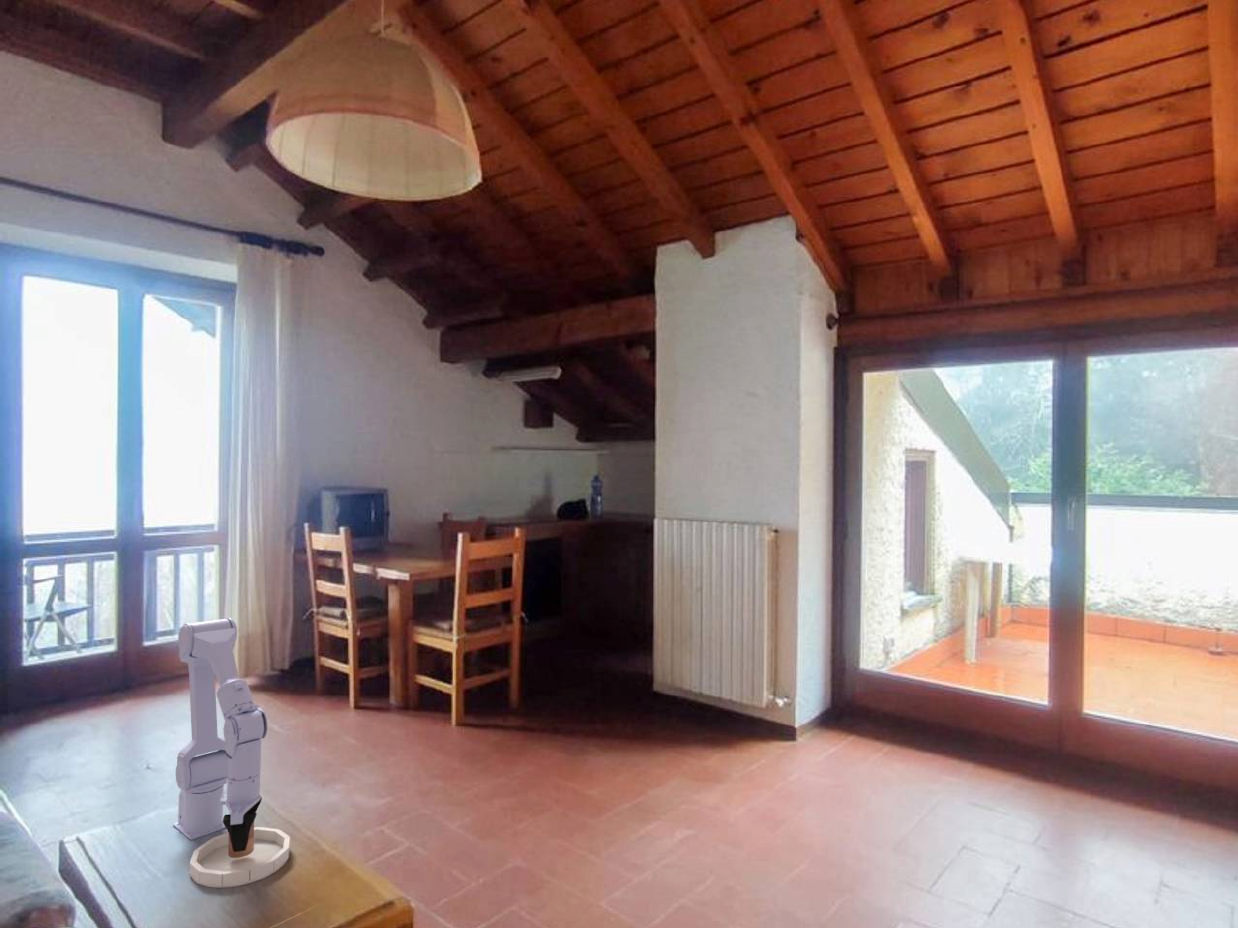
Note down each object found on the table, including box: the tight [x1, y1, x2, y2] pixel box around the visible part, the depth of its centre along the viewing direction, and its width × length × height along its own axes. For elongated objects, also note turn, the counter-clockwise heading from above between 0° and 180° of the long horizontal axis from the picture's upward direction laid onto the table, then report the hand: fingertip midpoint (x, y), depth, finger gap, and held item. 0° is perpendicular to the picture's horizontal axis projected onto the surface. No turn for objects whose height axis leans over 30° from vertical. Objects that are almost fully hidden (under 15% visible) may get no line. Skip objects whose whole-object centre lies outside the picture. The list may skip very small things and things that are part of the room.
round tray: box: [188, 826, 291, 889], centre depth 141 cm, size 17×17×3 cm
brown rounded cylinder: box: [228, 821, 255, 858], centre depth 141 cm, size 4×4×6 cm
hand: (241, 843), depth 141 cm, fingers closed on brown rounded cylinder, 4 cm apart
